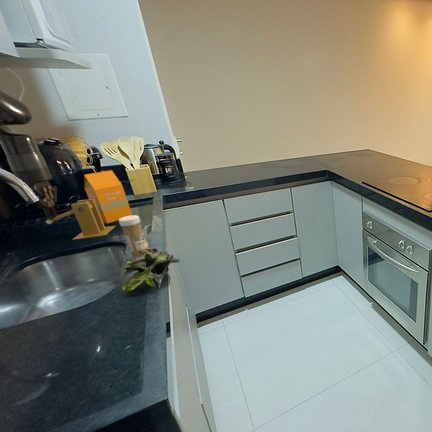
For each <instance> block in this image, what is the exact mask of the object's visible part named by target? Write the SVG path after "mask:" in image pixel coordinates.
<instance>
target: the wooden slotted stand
mask: <svg viewBox="0 0 432 432" xmlns="http://www.w3.org/2000/svg"><path fill="white" fill-rule="evenodd" d="M87 201H88V202H87ZM84 202H86V203H84ZM89 203H90V204H91V205H92V206H93V207H92V208H91V207H90V204H89ZM70 207H71V210H73V211H74V213H73V214H74V216H75V218H76V220H77V223H78V225H79V228H80V230H81V232H80V233H79V234H78V235H76V236H75V237H74V238H72V240H73V241H74V240H82V239H89V238H95V237H103V236H107V235H108V234H109V233H110V232H111V231H112V230H113V229H114V228H116V225H110V226H105V223H104V222H103V221H102V218H101V215H100V213H99V210H98V208H97V205H96V203H95V200H94V199H89V198H88V199H80V200H77V201H76V203H71V204H70Z"/></svg>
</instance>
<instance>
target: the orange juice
mask: <svg viewBox="0 0 432 432" xmlns="http://www.w3.org/2000/svg"><path fill="white" fill-rule="evenodd" d="M83 176H84V177H83V180H84V191H85V193H86V195H87V198H88V200H89V199H94V200H95V203H96V205H97V208H98V210H99V213H100V215H101V218H102V221H103V223H104V224H110V223H113V222H116V221H119V219H120V218H122V217H126V216H131V215H133V212H132V210H131V206H130V204H129V201H128V198H127V195H126V192H125V188H124V186H123V184H122V182H121V180H119V178H118V177H117V176H116V174H115V173H114V171H113V170H112V169H109V170H104V171H103V170H102V171H98V172H92V173H86V174H84V175H83Z"/></svg>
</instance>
